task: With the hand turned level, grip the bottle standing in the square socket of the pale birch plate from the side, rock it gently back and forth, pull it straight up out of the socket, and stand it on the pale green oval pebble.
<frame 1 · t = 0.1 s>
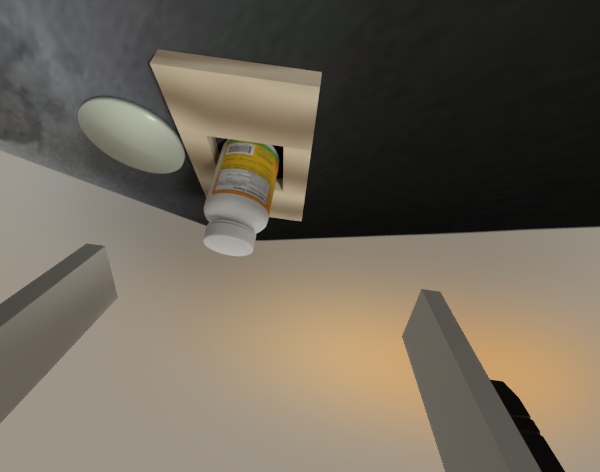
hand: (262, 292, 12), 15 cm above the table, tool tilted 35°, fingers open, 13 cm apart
supplement bottle: (252, 152, 27), resting in socket plate
pale green oval pebble: (136, 137, 27), on the table
socket plate: (251, 154, 27), on the table
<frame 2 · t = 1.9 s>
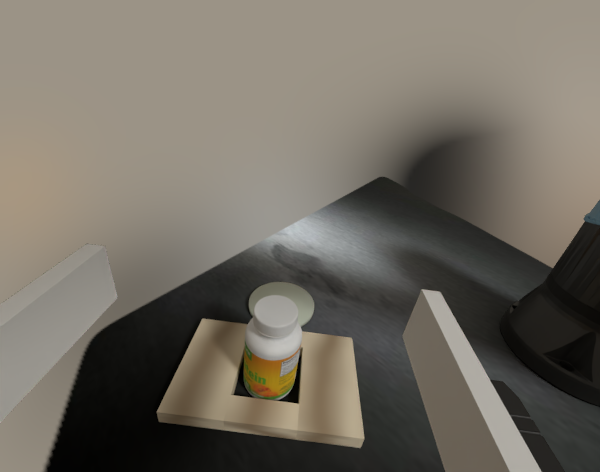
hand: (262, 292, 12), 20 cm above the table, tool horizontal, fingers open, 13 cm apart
supplement bottle: (269, 379, 30), resting in socket plate
pale green oval pebble: (281, 305, 40), on the table
socket plate: (269, 378, 30), on the table
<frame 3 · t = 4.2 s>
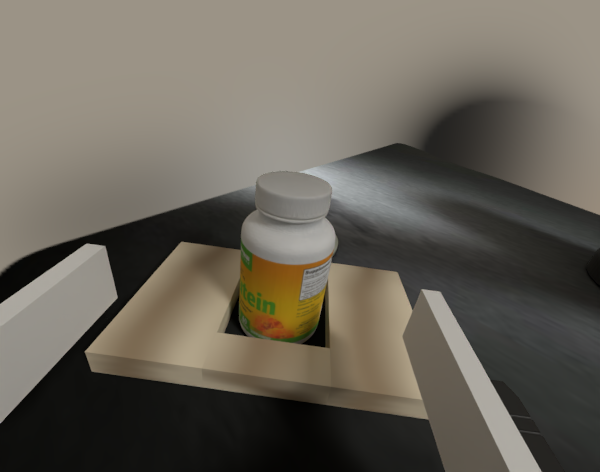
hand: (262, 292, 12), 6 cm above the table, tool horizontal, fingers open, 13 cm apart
supplement bottle: (278, 321, 20), resting in socket plate
socket plate: (278, 318, 20), on the table
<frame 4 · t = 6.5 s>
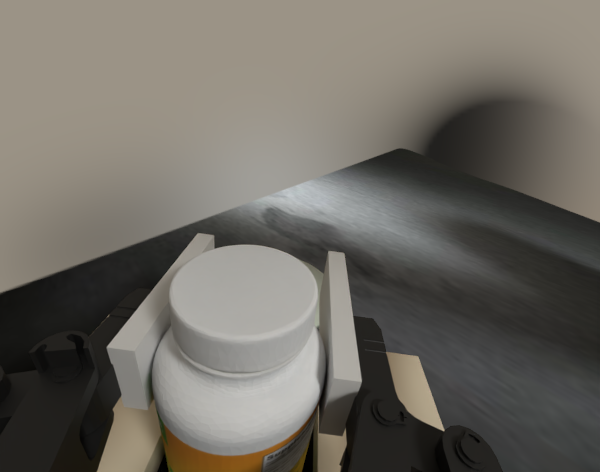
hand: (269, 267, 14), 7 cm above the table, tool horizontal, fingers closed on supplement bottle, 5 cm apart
supplement bottle: (239, 460, 13), resting in socket plate, touching gripper
pale green oval pebble: (275, 293, 22), on the table
socket plate: (239, 458, 13), on the table
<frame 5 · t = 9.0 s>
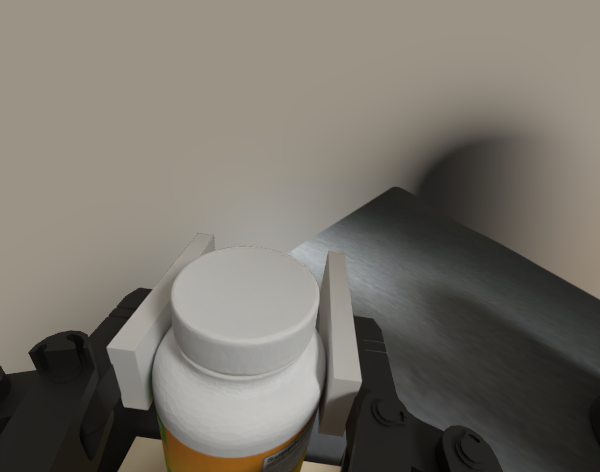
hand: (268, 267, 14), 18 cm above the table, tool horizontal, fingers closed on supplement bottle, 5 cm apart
supplement bottle: (237, 461, 13), point 11 cm above the table, touching gripper
when the fingers open (8 cm above the table, at t = 11.7 s): supplement bottle drops 1 cm, resting on pale green oval pebble.
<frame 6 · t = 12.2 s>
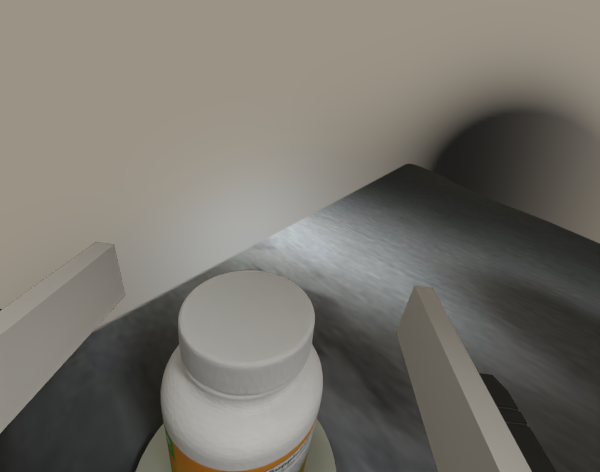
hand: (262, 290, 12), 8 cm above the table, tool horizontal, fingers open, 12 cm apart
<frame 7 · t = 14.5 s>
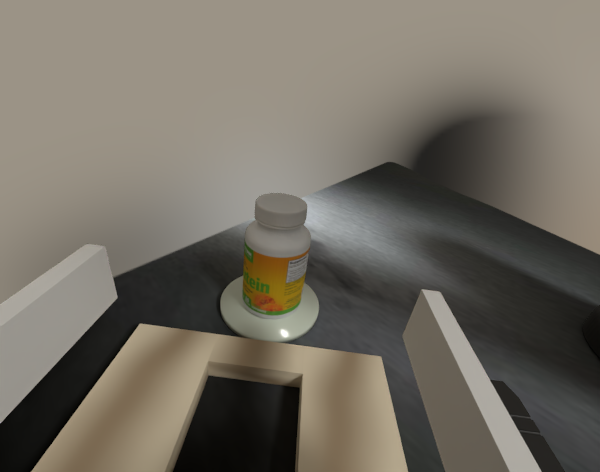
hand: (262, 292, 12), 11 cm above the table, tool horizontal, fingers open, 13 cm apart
supplement bottle: (271, 301, 27), resting on pale green oval pebble
pale green oval pebble: (270, 305, 27), on the table
socket plate: (243, 430, 17), on the table
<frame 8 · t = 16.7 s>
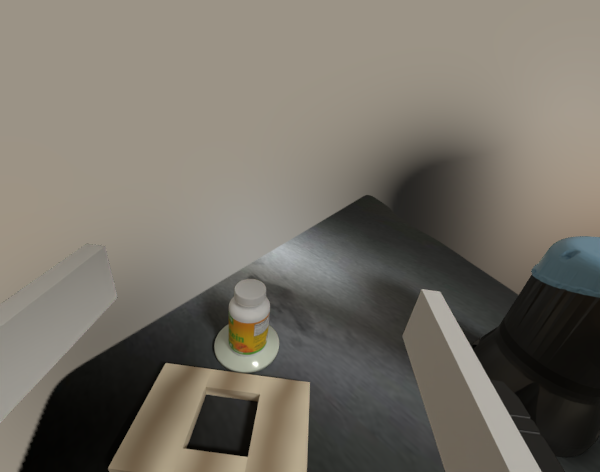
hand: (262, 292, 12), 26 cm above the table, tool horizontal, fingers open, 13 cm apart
supplement bottle: (247, 343, 41), resting on pale green oval pebble
pale green oval pebble: (247, 345, 41), on the table
socket plate: (224, 426, 31), on the table
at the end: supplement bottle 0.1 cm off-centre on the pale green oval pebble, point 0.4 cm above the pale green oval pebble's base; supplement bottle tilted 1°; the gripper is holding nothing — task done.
